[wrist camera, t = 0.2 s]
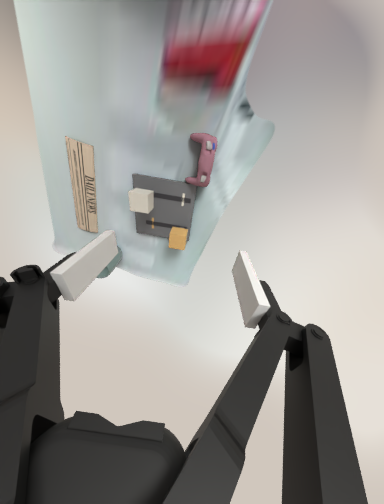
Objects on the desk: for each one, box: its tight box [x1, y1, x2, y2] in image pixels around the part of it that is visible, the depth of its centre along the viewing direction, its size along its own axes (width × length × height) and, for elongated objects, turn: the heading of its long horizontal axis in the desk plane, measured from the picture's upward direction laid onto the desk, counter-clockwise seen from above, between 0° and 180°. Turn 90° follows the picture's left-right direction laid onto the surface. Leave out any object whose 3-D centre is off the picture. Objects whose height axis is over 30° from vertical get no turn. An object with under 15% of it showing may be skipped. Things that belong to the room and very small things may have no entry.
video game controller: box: [185, 133, 217, 187], centre depth 32 cm, size 10×5×7 cm, turn 171°
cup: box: [96, 246, 122, 278], centre depth 46 cm, size 8×8×10 cm
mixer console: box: [132, 174, 197, 241], centre depth 41 cm, size 16×16×1 cm
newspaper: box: [65, 136, 98, 233], centre depth 40 cm, size 24×7×2 cm, turn 162°
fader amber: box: [169, 227, 188, 250], centre depth 39 cm, size 4×4×8 cm
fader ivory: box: [128, 188, 154, 214], centre depth 34 cm, size 4×4×8 cm
